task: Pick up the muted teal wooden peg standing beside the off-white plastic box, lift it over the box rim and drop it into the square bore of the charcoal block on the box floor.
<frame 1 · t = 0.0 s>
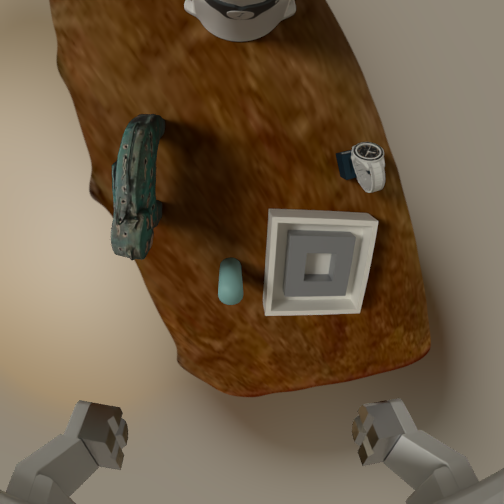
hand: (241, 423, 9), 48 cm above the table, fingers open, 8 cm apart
watch: (351, 161, 54), on the table
open box: (315, 258, 61), on the table
peg: (230, 267, 60), on the table
ceramic cat: (152, 171, 52), on the table
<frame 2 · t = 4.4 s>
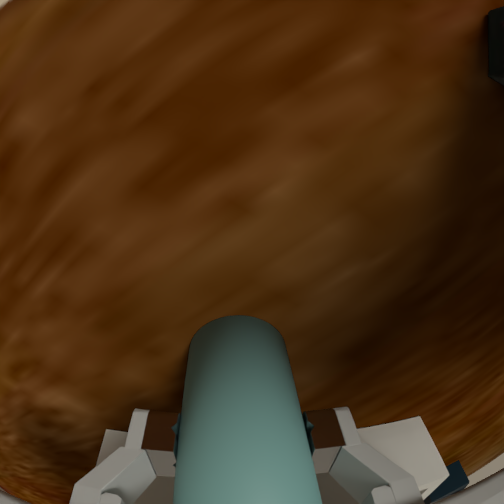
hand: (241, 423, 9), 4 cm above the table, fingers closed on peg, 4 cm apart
watch: (436, 476, 23), on the table
open box: (261, 497, 19), on the table
peg: (237, 354, 13), on the table, touching gripper
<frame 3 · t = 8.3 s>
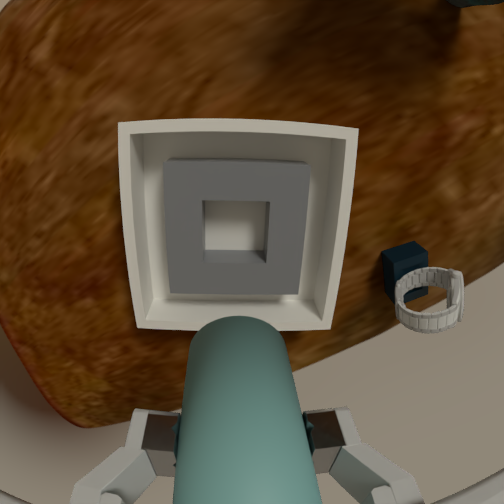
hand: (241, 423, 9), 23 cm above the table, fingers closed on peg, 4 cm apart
watch: (399, 265, 34), on the table
open box: (234, 219, 31), on the table
peg: (237, 354, 13), point 20 cm above the table, touching gripper
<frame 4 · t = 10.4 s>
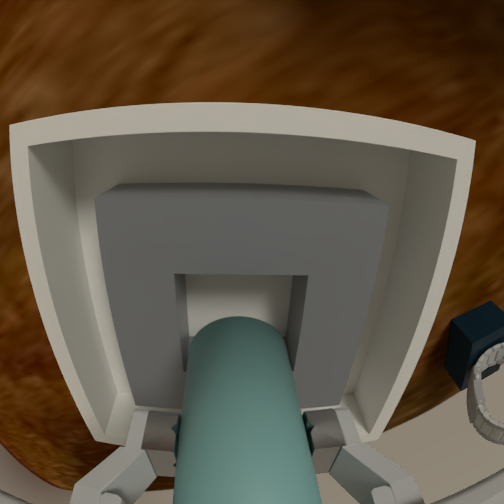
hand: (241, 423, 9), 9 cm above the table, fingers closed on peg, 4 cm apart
watch: (467, 333, 21), on the table
open box: (238, 286, 18), on the table
peg: (237, 355, 13), point 6 cm above the table, touching gripper
when the fingers open (6 cm above the table, at t = 12.1 s): peg stays where it is, resting on open box.
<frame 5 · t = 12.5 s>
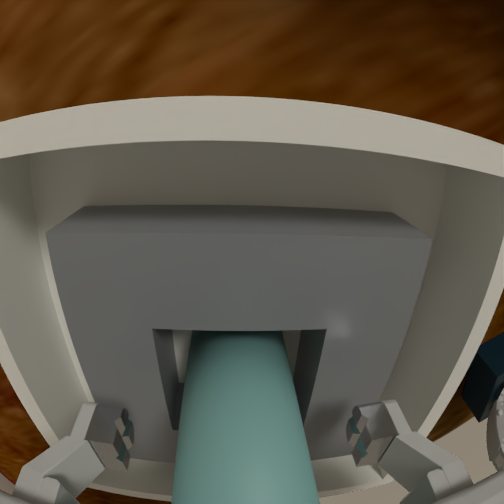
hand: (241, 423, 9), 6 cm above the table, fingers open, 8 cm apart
watch: (488, 360, 18), on the table
open box: (236, 327, 15), on the table
peg: (237, 340, 14), point 1 cm above the table, touching open box
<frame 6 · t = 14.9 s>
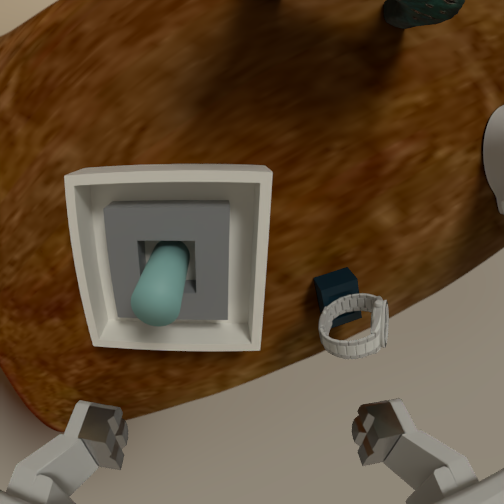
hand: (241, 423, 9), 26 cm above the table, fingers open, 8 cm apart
watch: (334, 290, 38), on the table
open box: (172, 252, 34), on the table
peg: (171, 255, 33), point 1 cm above the table, touching open box
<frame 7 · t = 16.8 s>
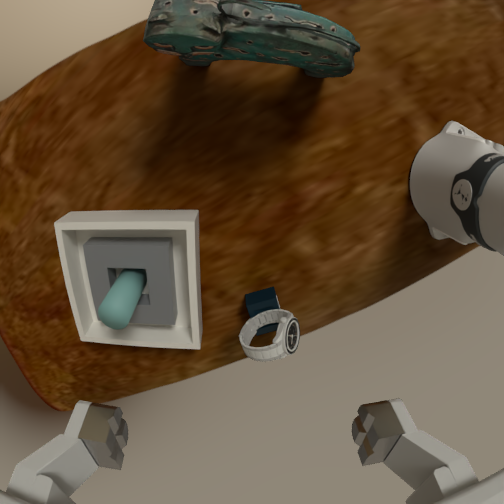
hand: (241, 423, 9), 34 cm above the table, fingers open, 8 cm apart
watch: (264, 304, 48), on the table
open box: (136, 273, 44), on the table
peg: (134, 276, 44), point 1 cm above the table, touching open box
ceramic cat: (254, 55, 34), on the table
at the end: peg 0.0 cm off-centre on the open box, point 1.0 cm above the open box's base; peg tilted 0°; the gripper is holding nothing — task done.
